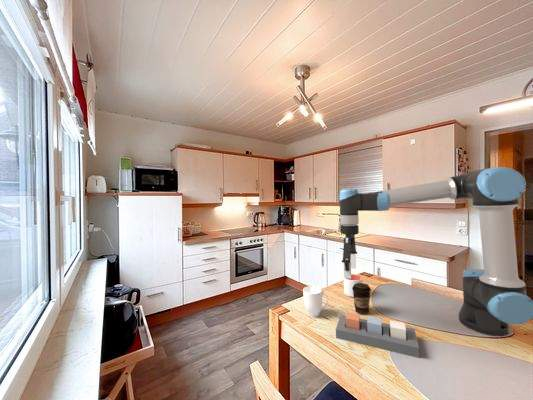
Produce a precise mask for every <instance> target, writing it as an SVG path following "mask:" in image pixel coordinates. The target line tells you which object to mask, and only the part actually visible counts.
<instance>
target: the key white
mask: <svg viewBox="0 0 533 400" xmlns="http://www.w3.org/2000/svg"><path fill="white" fill-rule="evenodd" d="M389 324H390V335H391V337H393V338H398V339H403V340H406V328H405V327H406V324H405V322H403V321H397V320H389Z"/></svg>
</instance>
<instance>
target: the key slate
mask: <svg viewBox="0 0 533 400" xmlns="http://www.w3.org/2000/svg"><path fill="white" fill-rule="evenodd" d="M366 320H367V332H370V333H375V334H379V335H382V323H383V322H382V318H380V317H375V316H370V315H367V319H366Z"/></svg>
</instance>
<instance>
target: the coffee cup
mask: <svg viewBox="0 0 533 400" xmlns="http://www.w3.org/2000/svg"><path fill="white" fill-rule="evenodd" d="M352 289H353V295H354V298H353V300H354V301H353V302H354V303H353V304H354V307H355V312H356V314H359V315H369V314H370V303H371V301H370V300H371V299H370V298H371V296H370V295H371V290H372V289H371V287H370V285H369V284H367V283H363V282H362V283H356V284H354V286H353V288H352Z"/></svg>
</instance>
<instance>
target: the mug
mask: <svg viewBox="0 0 533 400" xmlns="http://www.w3.org/2000/svg"><path fill="white" fill-rule="evenodd" d="M302 292H303V295H302V296H303V304H304V307H305V309H306V312H307V315H308V316H309V317H312V318H317V317H319V315H320V313H321V311H322V310H324V309H325V308H326V307H327V306H328V304H329V298H328V297H329V296H328V294H326V293H325V292H324V291H322V289H321V288H320V287H319V286H316V285H314V286H313V285H312V286H311V285H310V286H305V287H303V289H302ZM324 295H325V296H326V298H327V301H326V303H325V304H324V305H323V296H324Z"/></svg>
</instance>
